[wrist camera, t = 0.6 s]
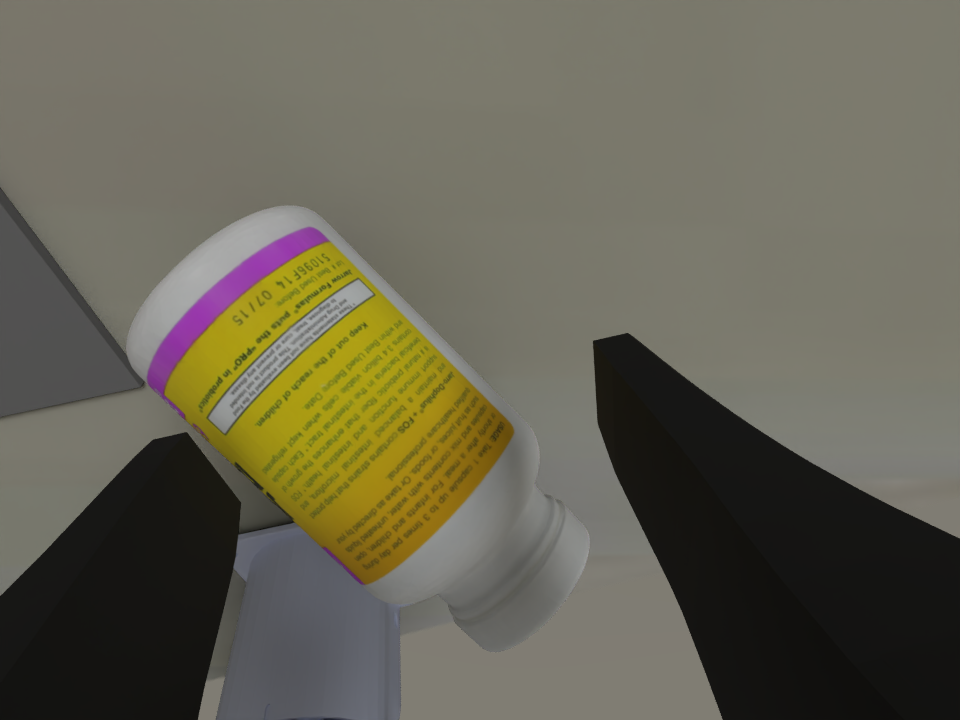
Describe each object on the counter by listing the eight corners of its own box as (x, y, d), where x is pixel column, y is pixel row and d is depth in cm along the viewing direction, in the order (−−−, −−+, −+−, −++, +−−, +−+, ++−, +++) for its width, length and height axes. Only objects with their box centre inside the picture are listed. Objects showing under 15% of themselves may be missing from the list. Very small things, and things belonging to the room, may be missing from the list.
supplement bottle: (54, 376, 12) (447, 745, 13) (245, 167, 12) (647, 567, 13) (207, 350, 19) (463, 596, 20) (334, 214, 18) (593, 474, 19)
